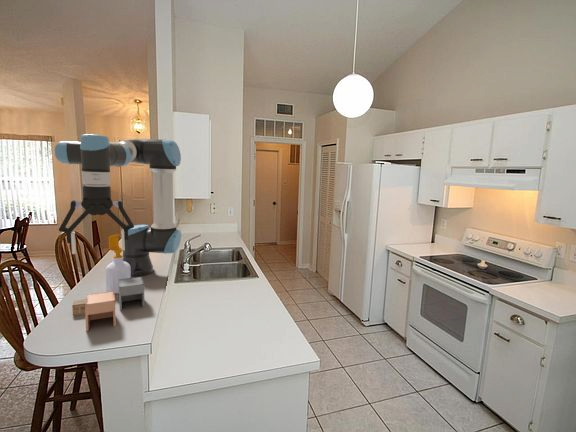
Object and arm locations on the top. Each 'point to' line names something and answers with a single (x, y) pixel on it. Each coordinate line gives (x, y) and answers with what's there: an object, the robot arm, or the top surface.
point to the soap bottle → (116, 266)
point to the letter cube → (78, 307)
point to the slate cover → (131, 290)
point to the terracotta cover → (100, 307)
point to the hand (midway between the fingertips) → (99, 251)
